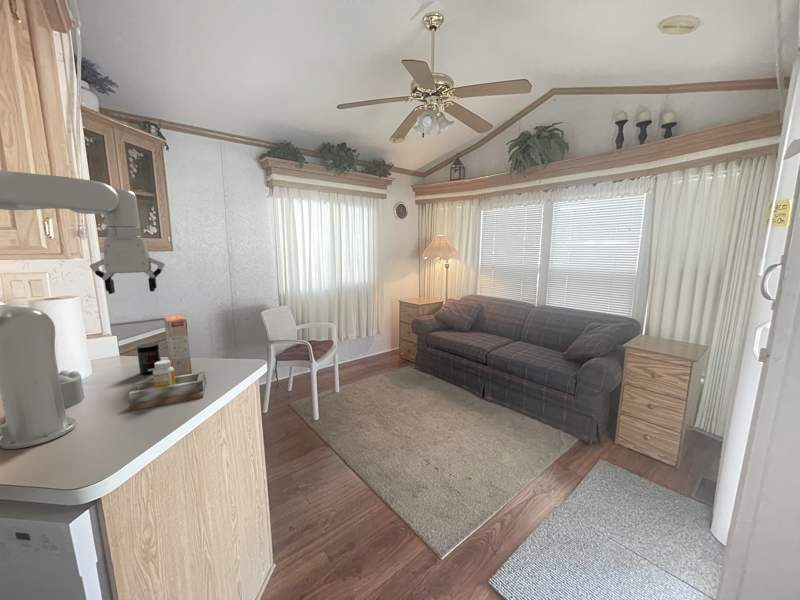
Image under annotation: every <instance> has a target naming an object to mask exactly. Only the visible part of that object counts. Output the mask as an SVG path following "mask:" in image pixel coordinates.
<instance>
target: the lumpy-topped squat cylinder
mask: <svg viewBox="0 0 800 600" xmlns="http://www.w3.org/2000/svg"><path fill="white" fill-rule="evenodd" d="M58 373H59V379H60V384H61V390H62V396H63V401H64V407H65V408H69V407H68V406H70V407H72V405H73V406H75V405H78V404H80V403H82V402H83V401H84V399H85V394H84V387H83V381H82V375H81V373H80V372H78V371H76V370H73V371H71V372H70V371H68V370H64V369H63V370H61V371H60V372H58Z"/></svg>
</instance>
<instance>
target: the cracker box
mask: <svg viewBox="0 0 800 600" xmlns="http://www.w3.org/2000/svg"><path fill="white" fill-rule="evenodd" d="M163 323H164V330H165V337H166V339H165V340H166V347H167V348H166V349H167V355H168V356H167V357H168V360H170V362H171V365H170V366H171V367H173V368H174V374H175V376H180V375H187V374H193V371H192V362H191V353H190V344H189V343H190V342H189V334H188V333H189V331H188V323H187V319H186V317H184V315H182V314H171V315H165V316H163Z"/></svg>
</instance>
